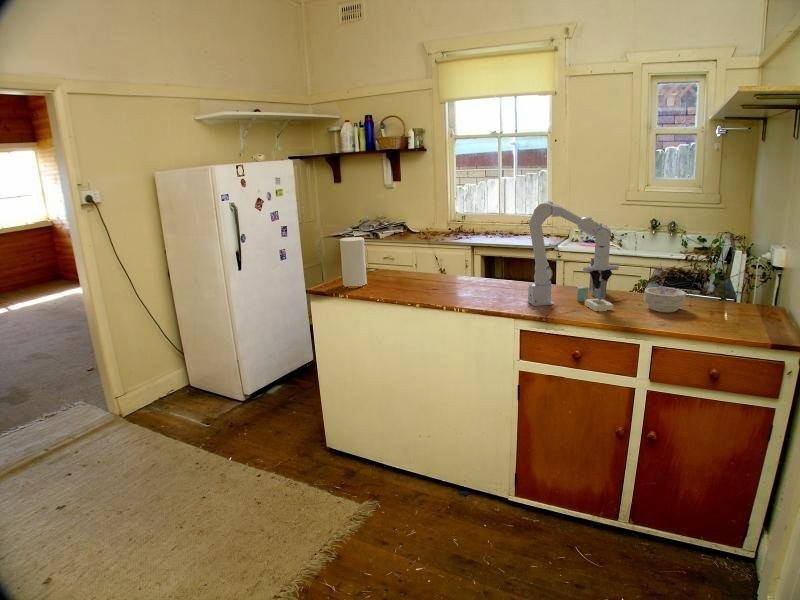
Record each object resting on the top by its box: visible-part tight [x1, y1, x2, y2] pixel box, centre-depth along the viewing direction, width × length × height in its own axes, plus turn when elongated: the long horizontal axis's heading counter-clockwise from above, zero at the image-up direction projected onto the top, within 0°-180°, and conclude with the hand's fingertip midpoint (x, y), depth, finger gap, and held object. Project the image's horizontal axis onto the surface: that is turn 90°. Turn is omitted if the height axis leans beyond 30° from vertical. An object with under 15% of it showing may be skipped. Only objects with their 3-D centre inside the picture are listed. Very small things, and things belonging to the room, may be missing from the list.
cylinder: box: [339, 236, 368, 286], centre depth 274 cm, size 12×12×25 cm
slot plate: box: [584, 298, 614, 312], centre depth 222 cm, size 8×10×2 cm
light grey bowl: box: [643, 286, 687, 313], centre depth 215 cm, size 15×15×8 cm
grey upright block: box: [576, 285, 589, 303], centre depth 232 cm, size 4×4×6 cm
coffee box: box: [588, 257, 608, 297], centre depth 241 cm, size 9×6×16 cm
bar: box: [593, 278, 608, 300], centre depth 219 cm, size 2×5×8 cm, turn 8°
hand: (599, 287), depth 220 cm, fingers closed on bar, 2 cm apart
